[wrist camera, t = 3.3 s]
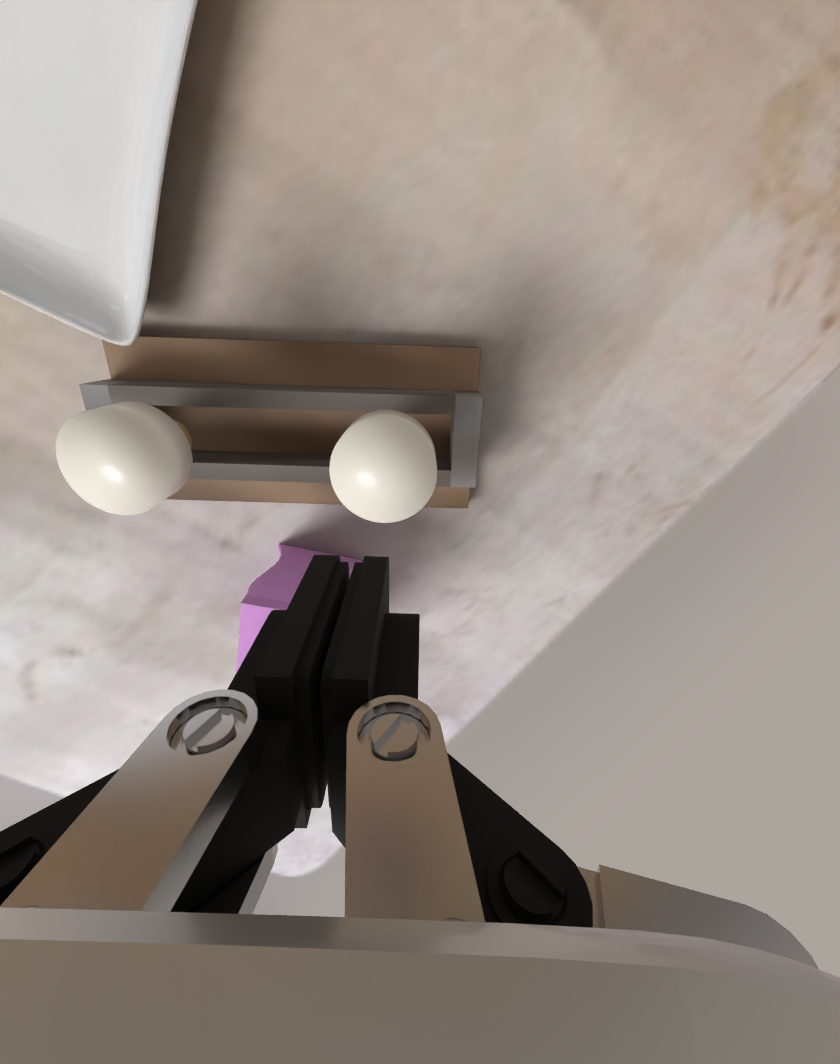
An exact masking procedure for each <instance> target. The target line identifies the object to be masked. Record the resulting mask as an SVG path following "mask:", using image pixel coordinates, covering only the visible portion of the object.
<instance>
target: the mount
mask: <svg viewBox="0 0 840 1064" xmlns="http://www.w3.org/2000/svg"><path fill="white" fill-rule="evenodd" d="M102 341H103V346H104V350H105V354H106V358H107V363H108V367H109V371H110V375H111V379H109V380H102V381H96V382H90V383H84V384H79V385H80V389H81V393H82V397H83V400H84V404H85V408H86V411H87V410H91V409H95V408H99V407H103V406H107V405H111V404H115V403H120V402H127V401H133V402H141V403H145V404H148V405H151V406H153V407H155V408H157V409H159V410H161V411H163V412H164V413H166V414H167V415H168V416H169V417H171V418H172V419H173V420H176V421H178V422H180V423H181V424H183V425H184V426H185V427H186V428H187V430H188V431H189V433H190V435H191V438H192V447H191V451H192V458H193V465H192V471H191V474H190V477H189V479H188V481H187V482H186V484H185V485H184V486H183V487H182V488H181V489H180V490H178V491H177V492H175V493H174V494H172V495H171V496H169V497H168V498H166V499H178V500H211V501H244V502H277V503H310V504H342V502H341V501H340V500H339V498H338V497H337V495H336V493H335V491H334V489H333V486H332V483H331V480H330V472H329V466H330V459H331V455H332V452H333V449H334V447H335V445H336V444H337V442H338V440H339V439H340V438H341V436H342V435H343V434H344V432H345V431H346V430H347V428H348V427H349V426H350V425H351V424H352V423H353V422H354V421H355V420H356V419H358V418H359V417H361V416H362V415H364V414H366V413H369V412H372V411H376V410H395V411H399V412H402V413H405V414H407V415H409V416H411V417H413V418H414V419H415V420H417V421H418V422H419V423H420V424H421V425H422V426H423V427H424V428H425V429H426V431H427V432H428V434H429V435H430V437H431V439H432V442H433V445H434V448H435V455H436V464H437V481H436V485H435V489H434V491H433V494H432V496H431V497H430V499H429V501H428V502H427V503H426V505H425V506H424V507H443V508H468V503H469V491H470V488H476V476H477V464H478V453H479V441H480V429H481V417H482V406H483V397H482V395H481V394H480V393H479V392H478V378H479V366H480V353H481V348H478V347H448V346H419V345H389V344H359V343H329V342H299V341H270V340H240V339H210V338H180V337H150V336H138V337H137V339H136V340H135V341H134V342H133V343H132V344H131V345H129V346H122V345H117V344H113V343H110V342H107V341H105V340H102Z"/></svg>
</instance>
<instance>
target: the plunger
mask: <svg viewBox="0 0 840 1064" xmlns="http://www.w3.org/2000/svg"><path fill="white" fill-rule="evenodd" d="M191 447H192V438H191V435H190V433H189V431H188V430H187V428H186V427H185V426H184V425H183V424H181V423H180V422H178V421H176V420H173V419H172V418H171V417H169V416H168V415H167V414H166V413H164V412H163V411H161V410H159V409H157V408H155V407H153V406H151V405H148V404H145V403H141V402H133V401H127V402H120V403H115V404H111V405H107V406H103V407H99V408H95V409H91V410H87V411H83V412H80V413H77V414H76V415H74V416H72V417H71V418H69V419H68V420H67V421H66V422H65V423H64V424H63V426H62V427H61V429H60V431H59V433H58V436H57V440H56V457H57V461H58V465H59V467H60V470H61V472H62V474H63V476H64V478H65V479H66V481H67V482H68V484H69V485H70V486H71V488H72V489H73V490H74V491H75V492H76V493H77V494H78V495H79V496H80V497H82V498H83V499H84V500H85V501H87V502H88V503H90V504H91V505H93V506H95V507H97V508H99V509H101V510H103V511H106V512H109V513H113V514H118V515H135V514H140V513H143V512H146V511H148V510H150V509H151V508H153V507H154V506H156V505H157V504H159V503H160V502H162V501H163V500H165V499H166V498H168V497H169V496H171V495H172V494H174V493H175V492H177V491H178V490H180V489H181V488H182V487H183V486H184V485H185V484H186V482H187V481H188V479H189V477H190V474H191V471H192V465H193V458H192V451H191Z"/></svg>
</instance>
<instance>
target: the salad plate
mask: <svg viewBox="0 0 840 1064" xmlns="http://www.w3.org/2000/svg"><path fill="white" fill-rule="evenodd" d="M197 3H198V0H0V292H1V293H3V294H5V295H7V296H9V297H11V298H13V299H15V300H17V301H19V302H21V303H23V304H25V305H27V306H29V307H31V308H34V309H36V310H38V311H40V312H42V313H44V314H46V315H48V316H50V317H52V318H55V319H57V320H59V321H61V322H63V323H65V324H67V325H70V326H72V327H74V328H76V329H79V330H81V331H83V332H86V333H88V334H90V335H93V336H95V337H97V338H100V339H102V340H105V341H107V342H110V343H113V344H117V345H122V346H129V345H131V344H132V343H133V342H134V341H135V340H136V339H137V337H138V335H139V333H140V330H141V326H142V322H143V317H144V312H145V307H146V302H147V295H148V288H149V281H150V274H151V266H152V258H153V250H154V242H155V233H156V225H157V218H158V210H159V203H160V195H161V188H162V182H163V175H164V168H165V162H166V156H167V150H168V144H169V138H170V133H171V127H172V122H173V116H174V111H175V106H176V101H177V96H178V91H179V86H180V81H181V76H182V71H183V66H184V62H185V57H186V53H187V48H188V44H189V39H190V34H191V30H192V25H193V21H194V16H195V12H196V8H197Z"/></svg>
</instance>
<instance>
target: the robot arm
mask: <svg viewBox="0 0 840 1064" xmlns="http://www.w3.org/2000/svg"><path fill="white" fill-rule="evenodd" d="M418 666H419V614H399V613H389V557H374V556H365V557H364V560H363V562H355V563H354V567H353V570H352V573H351V577H350V580H349V564H348V562H341V561H340V556H339V555H314V556H313V558H312V560H311V562H310V564H309V566H308V568H307V570H306V572H305V574H304V576H303V578H302V580H301V582H300V584H299V586H298V588H297V590H296V592H295V594H294V596H293V598H292V600H291V602H290V604H289V606H288V608H287V610H272V611H271V612H270V614H269V615H268V617H267V619H266V620H265V622H264V624H263V626H262V628H261V629H260V631H259V633H258V635H257V637H256V639H255V640H254V642H253V644H252V646H251V648H250V649H249V651H248V653H247V655H246V657H245V659H244V660H243V662H242V664H241V666H240V668H239V669H238V671H237V673H236V675H235V677H234V679H233V680H232V682H231V684H230V686H229V688H228V689H227V690H215V691H209V692H205V693H202V694H199V695H197V696H194V697H191V698H189V699H188V700H186V701H184V702H183V703H181V704H179V705H178V706H176V707H175V708H174V709H173V710H172V711H171V712H170V713H169V714H168V715H166V716H165V717H164V719H163V720H162V721H161V722H160V723H159V724H158V725H157V727H156V728H155V729H154V730H153V731H152V732H151V734H150V735H149V736H148V737H147V738H146V739H145V740H144V742H143V743H142V744H141V745H140V746H139V747H138V748H137V750H136V751H135V752H134V753H133V754H132V755H131V756H130V758H129V759H128V760H127V761H126V762H125V763H124V765H123V766H122V767H121V768H120V769H118V770H116V771H114V772H113V773H111V774H109V775H107V776H105V777H103V778H101V779H99V780H97V781H95V782H94V783H92V784H90V785H88V786H86V787H84V788H82V789H80V790H78V791H77V792H75V793H73V794H71V795H69V796H67V797H65V798H63V799H61V800H60V801H58V802H56V803H54V804H52V805H50V806H48V807H46V808H44V809H42V810H41V811H39V812H37V813H35V814H33V815H31V816H29V817H27V818H25V819H24V820H22V821H20V822H18V823H16V824H14V825H12V826H10V827H8V828H7V829H5V830H3V831H1V832H0V1064H840V978H839V977H837V976H834V975H832V974H829V973H826V972H824V971H821V970H819V969H818V967H817V965H816V963H815V961H814V960H813V958H812V956H811V955H810V954H809V952H808V951H807V950H806V949H805V948H804V947H803V946H802V945H801V943H800V942H799V941H798V940H797V939H796V938H795V937H794V936H793V935H792V933H791V932H790V931H788V930H787V929H786V928H784V927H783V926H782V925H780V924H779V923H778V922H776V921H775V920H774V919H772V918H771V917H770V916H769V915H767V914H765V913H763V912H761V911H758V910H756V909H754V908H752V907H749V906H747V905H745V904H741V903H737V902H734V901H730V900H726V899H722V898H719V897H716V896H712V895H708V894H704V893H701V892H697V891H694V890H690V889H687V888H683V887H679V886H675V885H672V884H668V883H665V882H661V881H657V880H654V879H650V878H646V877H643V876H639V875H636V874H632V873H628V872H625V871H621V870H617V869H614V868H610V867H606V866H602V865H599V867H598V870H597V872H595V871H591V870H587V869H584V868H580V867H577V866H576V864H575V863H574V862H573V861H572V860H571V859H570V858H569V857H568V856H567V855H566V854H565V852H564V851H563V850H562V849H560V848H559V847H558V846H557V845H556V844H555V843H553V842H552V841H551V840H550V839H549V838H548V837H546V836H545V835H544V834H543V833H542V832H540V831H539V830H538V829H537V828H535V826H533V825H532V824H531V823H530V822H529V821H527V820H526V819H525V818H524V817H523V816H522V815H520V814H519V813H518V812H517V811H516V810H514V809H513V808H512V807H511V806H510V805H508V804H507V803H506V802H505V801H504V800H502V799H501V798H500V797H499V796H498V795H497V794H495V793H494V792H493V791H492V790H491V789H490V788H488V787H487V786H486V785H485V784H484V783H482V782H481V781H480V780H479V779H478V778H477V777H475V776H474V775H473V774H472V773H471V772H469V771H468V770H467V769H466V768H465V767H464V766H462V765H461V764H460V763H459V762H458V761H457V760H455V759H454V758H453V757H452V756H450V755H449V754H448V753H447V751H446V746H445V742H444V738H443V733H442V729H441V725H440V722H439V720H438V718H437V715H436V714H435V713H434V712H433V711H432V709H431V708H430V707H429V706H428V705H426V704H425V703H423V702H421V701H419V700H418ZM327 784H328V797H329V807H330V808H331V818H332V832H333V833H334V834H335V836H336V837H337V838H338V839H339V841H340V842H341V843H342V844H343V846H344V847H345V848H346V852H345V855H346V856H345V857H346V858H345V917H320V916H286V915H254V914H253V911H254V909H255V907H256V904H257V902H258V900H259V897H260V895H261V893H262V890H263V888H264V885H265V883H266V881H267V878H268V876H269V874H270V871H271V869H272V867H273V864H274V861H275V858H276V854H277V851H278V845H277V843H279V842H280V841H281V840H282V839H284V838H285V837H286V836H288V835H289V834H290V833H291V832H293V831H294V829H295V828H307V825H308V821H309V817H310V812H311V808H321V806H322V804H323V800H324V795H325V790H326V786H327Z"/></svg>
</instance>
